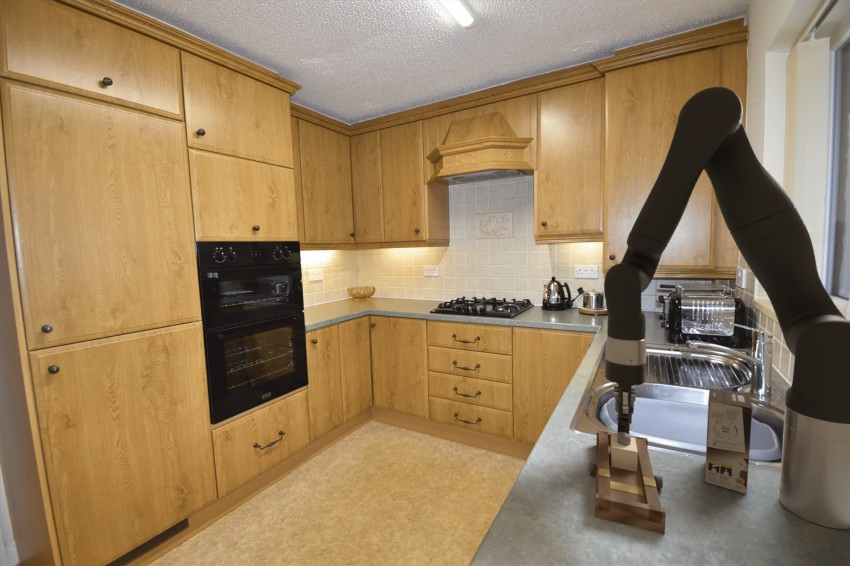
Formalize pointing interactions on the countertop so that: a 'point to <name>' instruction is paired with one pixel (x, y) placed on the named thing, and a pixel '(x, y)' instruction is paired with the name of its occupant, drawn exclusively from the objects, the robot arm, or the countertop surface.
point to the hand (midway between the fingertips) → (623, 438)
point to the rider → (624, 451)
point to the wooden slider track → (627, 488)
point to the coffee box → (728, 439)
